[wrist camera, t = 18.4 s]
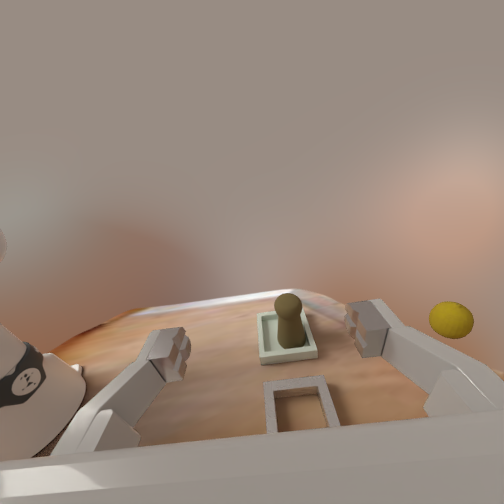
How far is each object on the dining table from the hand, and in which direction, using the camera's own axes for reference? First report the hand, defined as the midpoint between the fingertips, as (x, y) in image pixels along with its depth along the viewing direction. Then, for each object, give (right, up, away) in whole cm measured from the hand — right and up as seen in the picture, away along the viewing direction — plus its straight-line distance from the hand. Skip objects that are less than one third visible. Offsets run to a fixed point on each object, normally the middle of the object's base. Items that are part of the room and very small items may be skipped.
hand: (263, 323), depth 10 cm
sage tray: (+7, -15, +33) cm, 37 cm away
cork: (+8, -15, +32) cm, 36 cm away
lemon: (+36, -12, +28) cm, 47 cm away
